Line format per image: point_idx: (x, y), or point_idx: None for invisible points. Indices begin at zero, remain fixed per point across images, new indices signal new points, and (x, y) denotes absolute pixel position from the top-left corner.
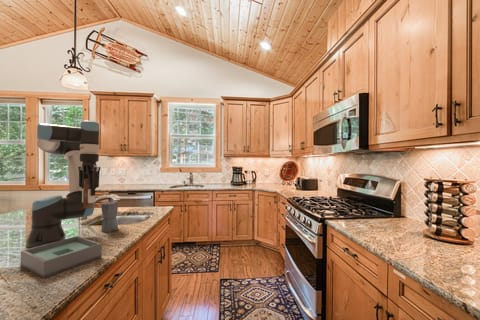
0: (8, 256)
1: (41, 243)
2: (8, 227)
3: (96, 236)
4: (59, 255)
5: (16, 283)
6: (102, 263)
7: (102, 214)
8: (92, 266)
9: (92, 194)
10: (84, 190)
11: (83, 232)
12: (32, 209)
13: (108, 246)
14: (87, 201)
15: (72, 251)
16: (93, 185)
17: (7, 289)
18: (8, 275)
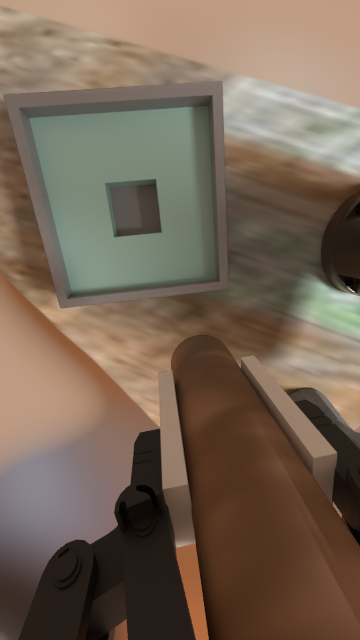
0: (338, 115)
1: (342, 214)
2: None
3: (278, 360)
4: (103, 186)
5: (61, 56)
6: (22, 279)
7: (357, 433)
8: (21, 252)
9: (135, 448)
10: (237, 438)
11: (356, 351)
12: None
13: (152, 345)
14: (182, 376)
15: (110, 230)
16: (36, 607)
17: (32, 22)
18: (152, 60)
